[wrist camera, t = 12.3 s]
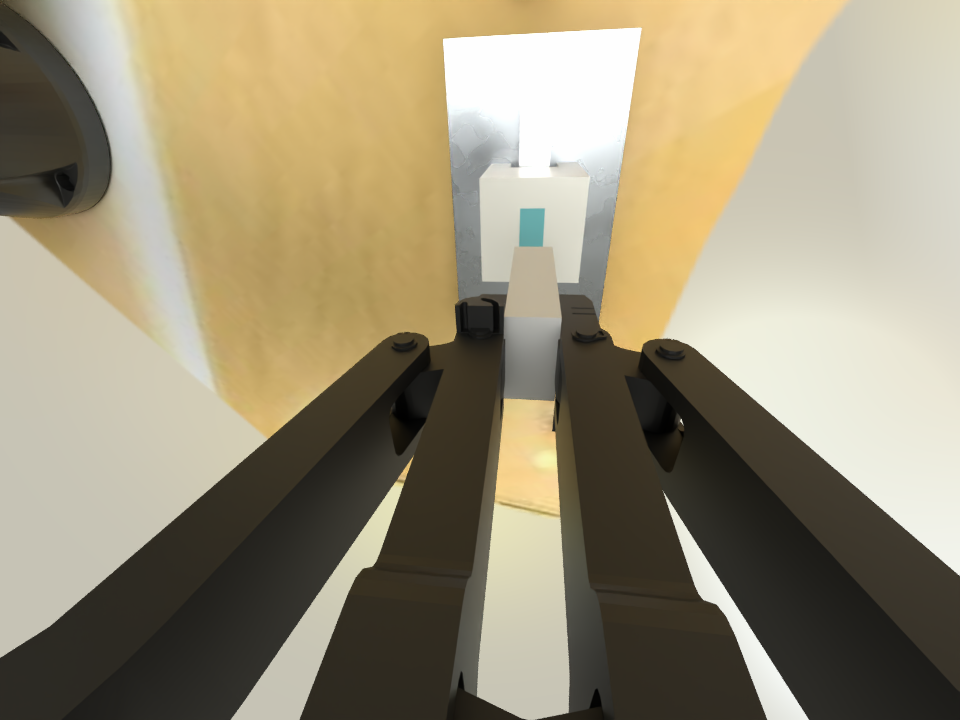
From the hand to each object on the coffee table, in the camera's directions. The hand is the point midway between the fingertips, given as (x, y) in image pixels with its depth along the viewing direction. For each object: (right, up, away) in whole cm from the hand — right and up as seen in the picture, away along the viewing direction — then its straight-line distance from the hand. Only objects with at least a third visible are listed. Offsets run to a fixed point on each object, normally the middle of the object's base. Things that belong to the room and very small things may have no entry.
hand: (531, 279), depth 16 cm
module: (+2, +8, +13) cm, 15 cm away
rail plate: (+2, +9, +14) cm, 16 cm away
